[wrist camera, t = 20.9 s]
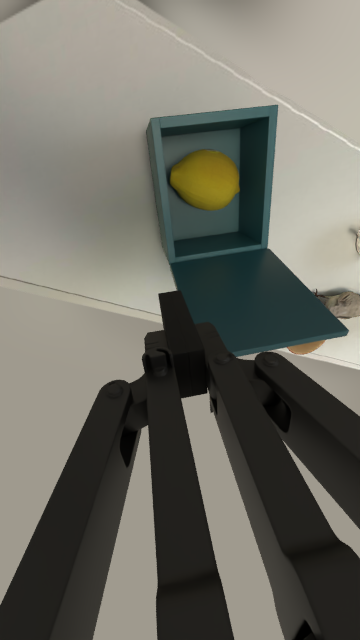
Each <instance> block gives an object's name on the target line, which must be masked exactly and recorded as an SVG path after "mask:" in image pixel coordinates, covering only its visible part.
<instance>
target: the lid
mask: <svg viewBox="0 0 360 640" xmlns="http://www.w3.org/2000/svg"><path fill="white" fill-rule="evenodd" d="M170 269H171V272H172V276H173V279H174V282H175V286H176V289H177V291H179V290H181V292H182V294H183V297H184V299H185V302H186V304H187V307H188V309H189V312H190V314H191V317H192V319H193V322H194V324H198V323H204V322H210V323H211V324H213V325H214V326H215V328H216V329H217V332H218V333H219V335H220V337H221V339H222V341H223V343H224V344H225V346H226V348H227V350H228V351H229V352H231V353H233V354H234V355H235V356H236V357H238V356H243V355H249V354H254V353H259V352H264V351H269V350H275V349H280V348H285V347H290V346H296V345H301V344H306V343H311V342H316V341H322V340H327V339H332V338H337V337H342V336H346V335H347V333H348V331H349V330H348V329H347V328H346V327H345V326H344V325H343V324H342V323H341V322H340V321H339V320H338V319H337V318H336V317H335V316H334V315H333V313H332V312H331V311H330V310H329V309H328V308H327V307H326V306H325V305H324V304H323V303H322V302H321V301H320V300H319V299H318V298H317V297H316V296H315V295H314V294H313V293H312V292H311V291H310V290H309V289H308V288H307V287H306V286H305V285H304V284H303V283H302V282H301V281H300V280H299V279H298V278H297V277H296V276H295V275H294V274H293V272H292V271H291V270H290V269H289V268H288V267H287V266H286V265H285V264H284V263H283V262H282V261H281V260H280V259H279V258H278V257H277V256H276V255H275V254H274V253H273V252H272V251H271V250H270V249H263V250H256V251H250V252H243V253H237V254H231V255H224V256H218V257H211V258H205V259H199V260H192V261H186V262H179V263H173V264H170Z"/></svg>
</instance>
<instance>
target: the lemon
mask: <svg viewBox="0 0 360 640" xmlns="http://www.w3.org/2000/svg"><path fill="white" fill-rule="evenodd" d="M170 185H171V186H172V187H173V188H174V189H175V190H176V191H177V193H178V194H179V196H180V197H181V198H182V199H183V200H184V201H185V202H186V203H188V204H189V205H191V206H193V207H195V208H198V209H202V210H208V211H213V210H219V209H222V208H224V207H226V206H227V205H228V204H229V203H230V202H231V200H232V199H233V197H234V196H235V194H237V193H238V192H239V191H240V187H239V173H238V169H237V167H236V165H235V163H234V162H233V161H232V160H231V159H230V158H229V157H228V156H226V155H225V154H223V153H221V152H219V151H217V150H213V149H202V150H198V151H195V152H192V153H190V154H188V155H187V156H186V157H184V158H183V159H182V160H181V161H180V162H179V163H178V164H176V165H174V166H173V167H172V168H171V175H170Z"/></svg>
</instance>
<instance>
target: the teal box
mask: <svg viewBox="0 0 360 640" xmlns="http://www.w3.org/2000/svg"><path fill="white" fill-rule="evenodd" d="M277 114H278V105H272V106H262V107H253V108H243V109H234V110H224V111H215V112H206V113H196V114H187V115H177V116H168V117H160V118H151V119H150V122H149V124H148V127H147V130H146V135H147V142H148V149H149V156H150V163H151V170H152V177H153V185H154V192H155V199H156V206H157V213H158V220H159V227H160V234H161V241H162V247H163V250H164V252H165V255H166V257H167V260H168V262H169V265H170V264H173V263H179V262H186V261H192V260H199V259H205V258H211V257H218V256H224V255H231V254H237V253H243V252H250V251H256V250H263V249H267V247H268V233H269V220H270V207H271V194H272V180H273V167H274V154H275V140H276V127H277ZM202 149H213V150H217V151H219V152H221V153H223V154H225V155H226V156H228V157H229V158H230V159H231V160H232V161H233V162H234V163H235V165H236V167H237V169H238V173H239V187H240V191H239V192H238V193H237V194H235V196H234V197H233V199H232V200H231V202H230V203H229V204H228V205H227V206H226V207H224V208H222V209H219V210H213V211H208V210H202V209H198V208H195V207H193V206H191V205H189V204H188V203H186V202H185V201H184V200H183V199H182V198H181V197H180V196H179V194H178V193H177V191H176V190H175V189H174V188H173V187H172V186H171V185H170V175H171V168H172V167H173V166H174V165H176V164H178V163H179V162H180V161H181V160H182V159H183V158H184V157H186V156H187V155H188V154H190V153H192V152H195V151H198V150H202Z"/></svg>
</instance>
